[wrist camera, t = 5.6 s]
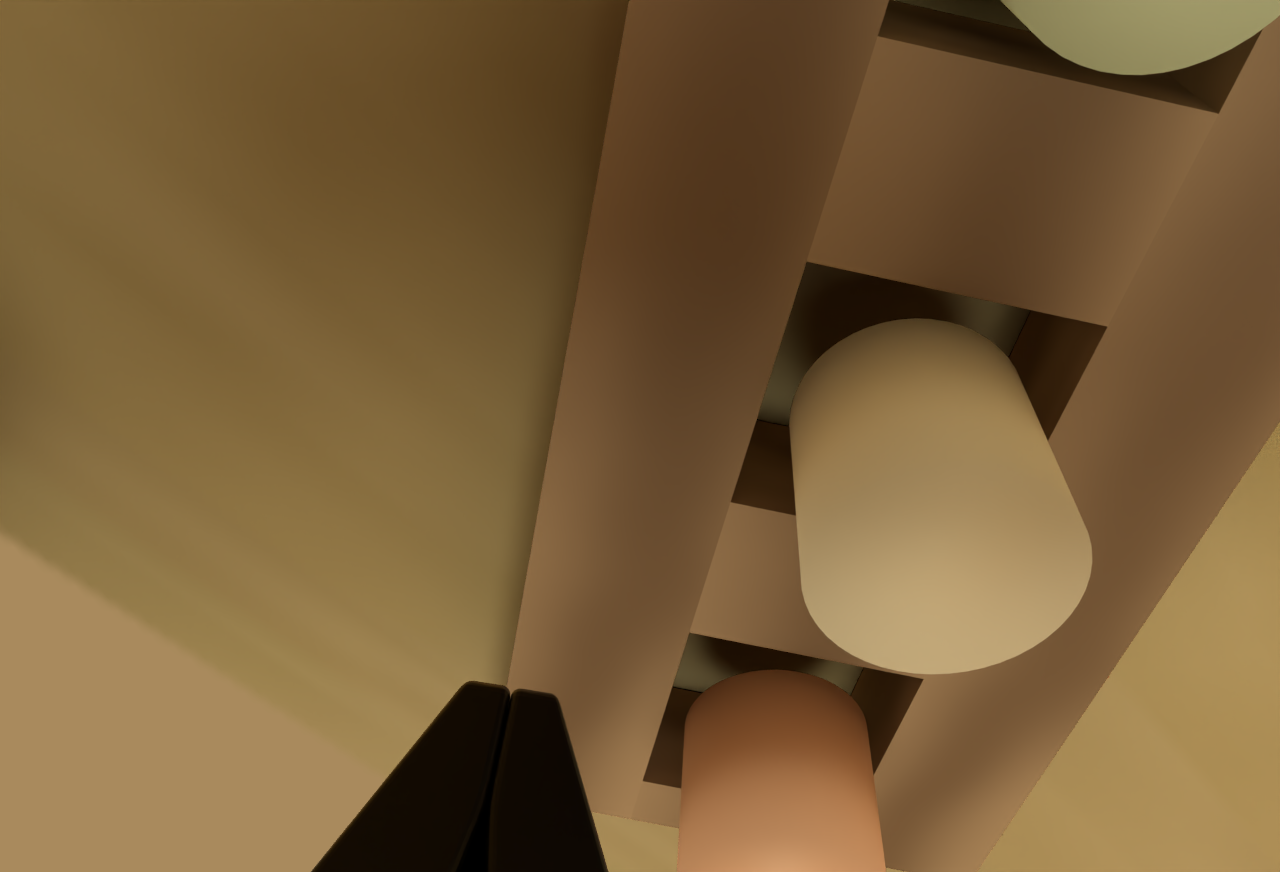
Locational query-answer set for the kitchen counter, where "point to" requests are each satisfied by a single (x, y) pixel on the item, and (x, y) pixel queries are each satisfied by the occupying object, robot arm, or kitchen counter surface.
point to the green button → (1143, 30)
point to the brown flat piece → (915, 254)
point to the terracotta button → (777, 779)
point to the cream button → (930, 502)
